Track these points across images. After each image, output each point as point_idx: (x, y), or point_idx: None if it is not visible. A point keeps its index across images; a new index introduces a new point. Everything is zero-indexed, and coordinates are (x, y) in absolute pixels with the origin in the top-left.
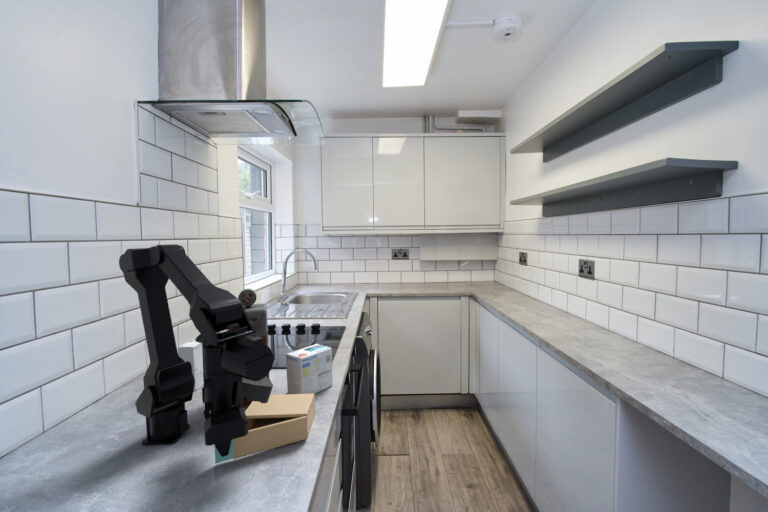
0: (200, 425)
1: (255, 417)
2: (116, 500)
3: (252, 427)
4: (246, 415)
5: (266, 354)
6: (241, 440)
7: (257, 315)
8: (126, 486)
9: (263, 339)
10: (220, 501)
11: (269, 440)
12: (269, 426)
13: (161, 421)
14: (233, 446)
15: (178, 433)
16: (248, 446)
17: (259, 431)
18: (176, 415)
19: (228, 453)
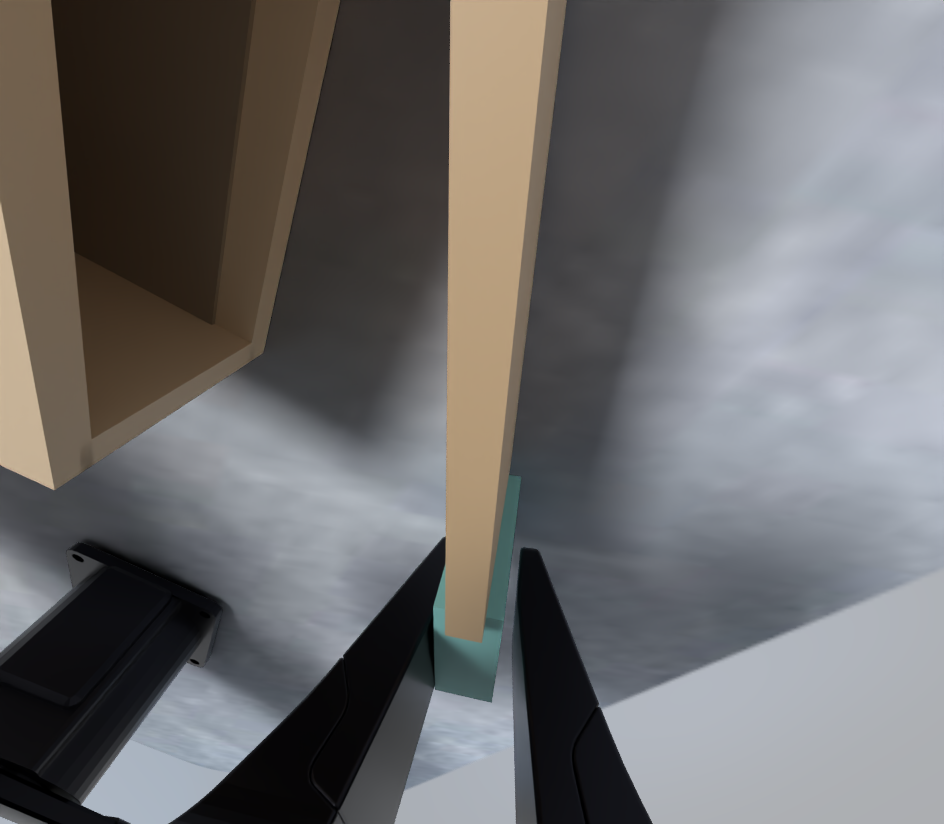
0: (68, 505)
1: (66, 330)
2: (506, 733)
3: (109, 261)
4: (41, 447)
5: None
6: (499, 519)
7: None
8: (445, 712)
9: None
10: (860, 579)
11: (542, 171)
12: (529, 168)
13: (122, 737)
14: (499, 541)
15: (164, 610)
16: (514, 413)
17: (511, 368)
18: (71, 722)
19: (541, 557)
